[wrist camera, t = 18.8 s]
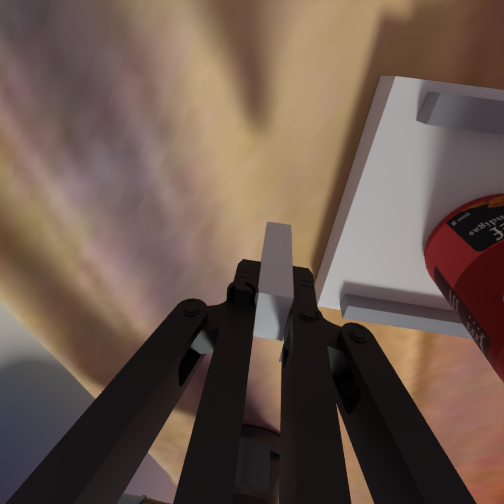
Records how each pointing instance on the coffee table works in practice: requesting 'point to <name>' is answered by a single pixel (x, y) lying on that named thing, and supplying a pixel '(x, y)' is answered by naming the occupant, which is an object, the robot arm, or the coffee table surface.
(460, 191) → the dock
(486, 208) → the canned food
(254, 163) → the coffee table surface
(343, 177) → the coffee table surface
